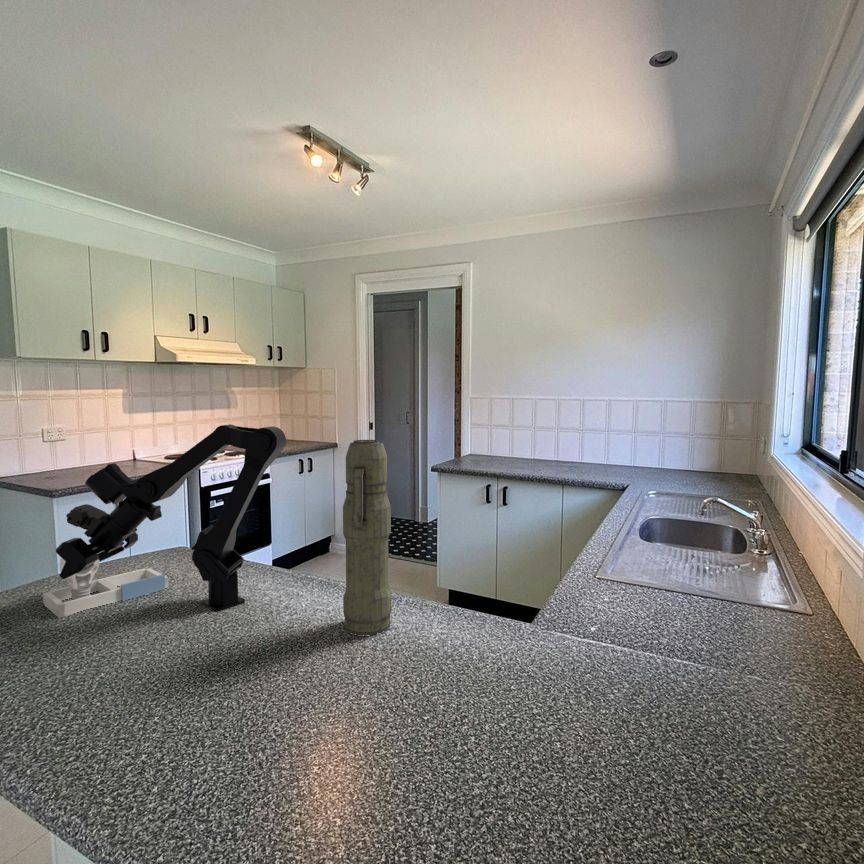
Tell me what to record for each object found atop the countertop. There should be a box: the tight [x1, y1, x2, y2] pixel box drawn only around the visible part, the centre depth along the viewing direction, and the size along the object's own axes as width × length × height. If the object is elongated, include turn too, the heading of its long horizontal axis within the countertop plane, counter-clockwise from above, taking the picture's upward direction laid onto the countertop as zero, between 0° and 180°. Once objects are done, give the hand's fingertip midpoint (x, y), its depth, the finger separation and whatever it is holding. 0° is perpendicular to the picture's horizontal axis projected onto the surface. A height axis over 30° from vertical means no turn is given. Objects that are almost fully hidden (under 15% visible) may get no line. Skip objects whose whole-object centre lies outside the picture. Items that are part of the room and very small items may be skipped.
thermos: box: [342, 439, 392, 636], centre depth 96 cm, size 9×12×35 cm
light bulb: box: [58, 554, 101, 600], centre depth 107 cm, size 7×7×12 cm
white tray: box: [42, 567, 169, 619], centre depth 111 cm, size 11×21×4 cm, turn 140°
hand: (73, 571), depth 107 cm, fingers closed on light bulb, 6 cm apart
